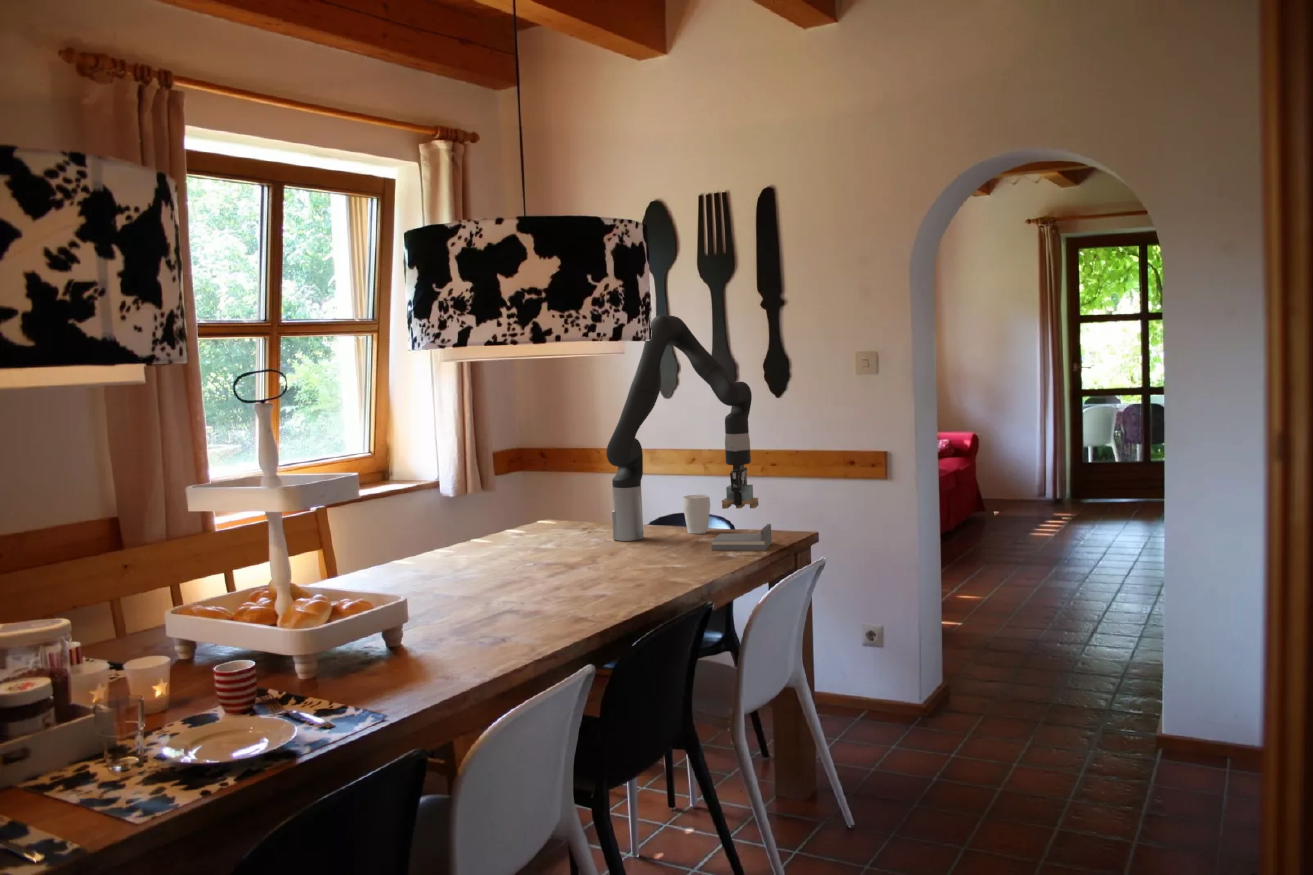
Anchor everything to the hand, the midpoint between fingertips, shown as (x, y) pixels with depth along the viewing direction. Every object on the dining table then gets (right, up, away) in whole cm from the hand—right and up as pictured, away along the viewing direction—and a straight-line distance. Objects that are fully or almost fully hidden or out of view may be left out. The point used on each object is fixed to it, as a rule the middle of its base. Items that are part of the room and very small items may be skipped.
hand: (740, 503), depth 319 cm
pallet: (0, -1, 0) cm, 1 cm away
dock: (+1, -13, +1) cm, 13 cm away
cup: (-12, -12, +31) cm, 35 cm away
